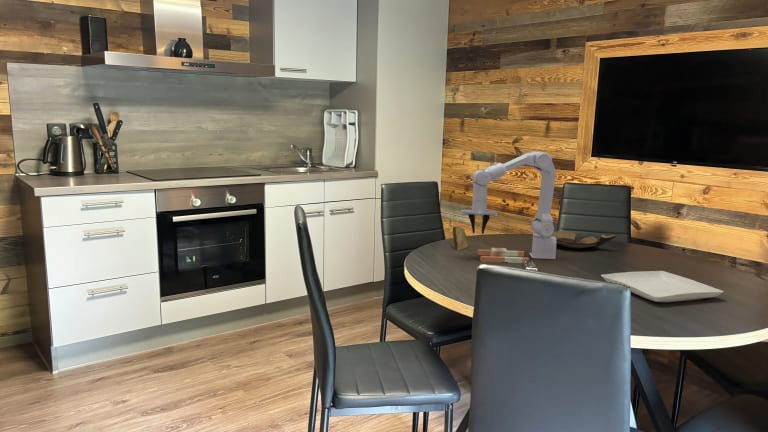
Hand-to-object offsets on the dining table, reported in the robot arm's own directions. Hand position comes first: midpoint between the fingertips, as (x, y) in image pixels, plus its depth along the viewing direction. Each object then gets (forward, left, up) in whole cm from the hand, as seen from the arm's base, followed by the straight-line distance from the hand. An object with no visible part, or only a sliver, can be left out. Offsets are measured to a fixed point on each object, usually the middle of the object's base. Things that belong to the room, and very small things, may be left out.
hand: (478, 233), depth 230 cm
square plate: (-58, +38, -11) cm, 70 cm away
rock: (+5, -18, -11) cm, 22 cm away
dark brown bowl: (-47, -27, -11) cm, 55 cm away
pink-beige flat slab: (-11, 0, -10) cm, 15 cm away
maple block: (-9, 0, -11) cm, 14 cm away
